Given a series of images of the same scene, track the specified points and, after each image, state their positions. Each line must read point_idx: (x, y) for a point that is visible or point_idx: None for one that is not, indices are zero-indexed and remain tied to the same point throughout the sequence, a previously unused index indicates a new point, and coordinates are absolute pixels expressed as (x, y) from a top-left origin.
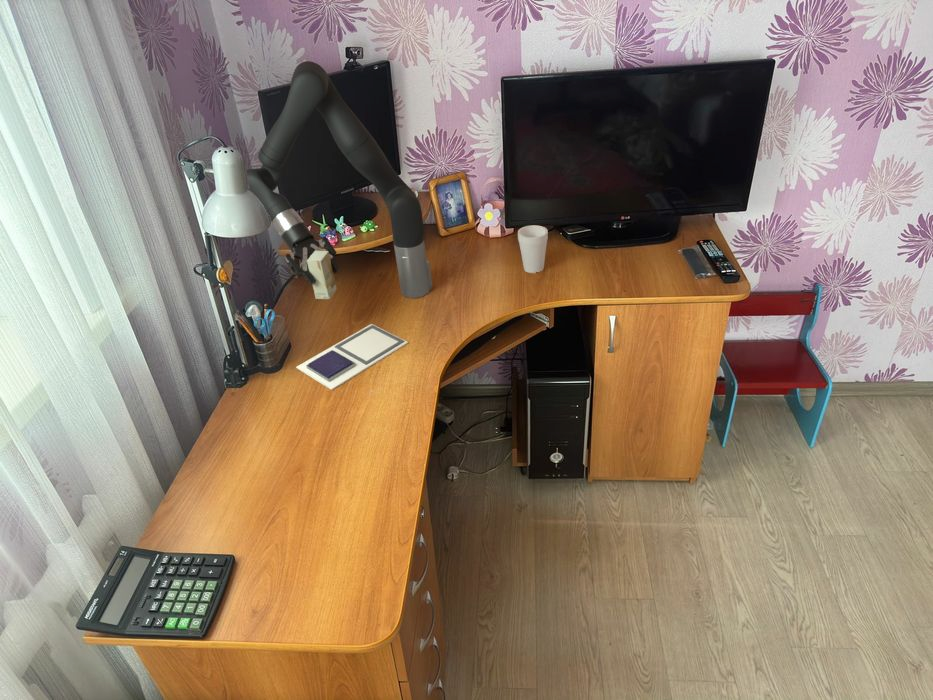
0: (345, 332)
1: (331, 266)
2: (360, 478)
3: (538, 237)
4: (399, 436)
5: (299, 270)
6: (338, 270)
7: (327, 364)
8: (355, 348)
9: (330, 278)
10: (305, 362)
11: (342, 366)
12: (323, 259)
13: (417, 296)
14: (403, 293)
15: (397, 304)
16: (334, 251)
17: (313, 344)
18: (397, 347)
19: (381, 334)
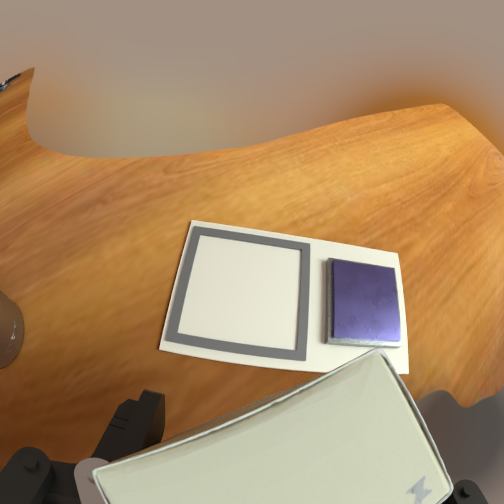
0: (228, 395)
1: (158, 443)
2: (427, 145)
3: None
4: (372, 136)
5: (459, 487)
6: (147, 392)
7: (375, 299)
8: (277, 308)
9: (224, 416)
10: None
11: (358, 266)
12: (309, 382)
13: (18, 309)
14: (16, 345)
15: (52, 344)
16: (23, 462)
17: None
18: (220, 226)
19: (191, 291)
